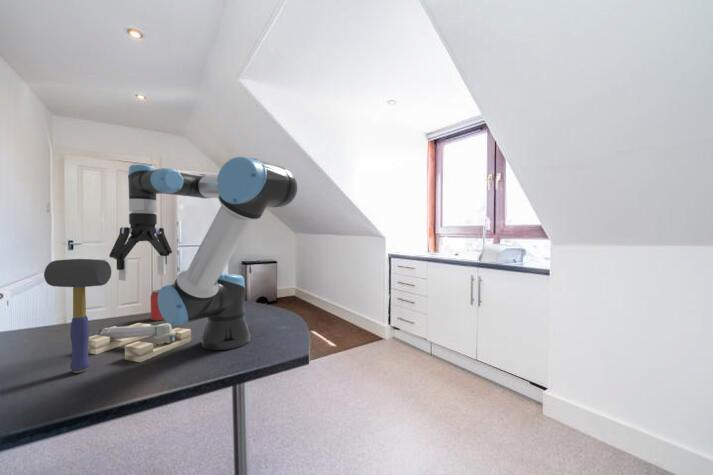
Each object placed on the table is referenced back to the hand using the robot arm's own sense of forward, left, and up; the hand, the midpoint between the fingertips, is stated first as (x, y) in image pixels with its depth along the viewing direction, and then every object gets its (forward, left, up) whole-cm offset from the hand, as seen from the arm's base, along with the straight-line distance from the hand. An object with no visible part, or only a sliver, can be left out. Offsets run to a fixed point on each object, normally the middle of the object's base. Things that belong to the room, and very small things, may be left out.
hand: (143, 277), depth 103 cm
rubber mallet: (-3, +20, -22) cm, 30 cm away
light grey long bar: (0, +2, -21) cm, 21 cm away
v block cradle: (-1, +2, -22) cm, 22 cm away
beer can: (+21, -24, -22) cm, 39 cm away
